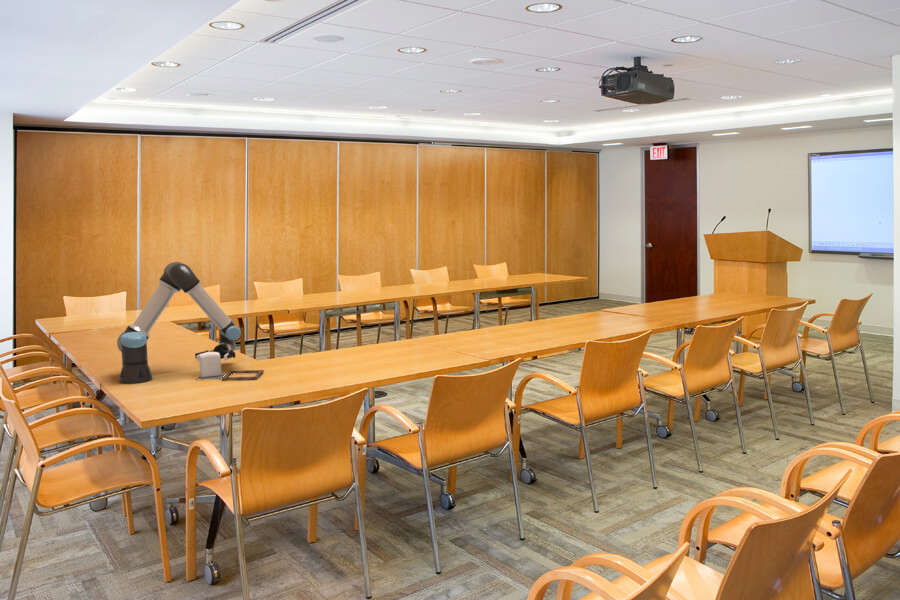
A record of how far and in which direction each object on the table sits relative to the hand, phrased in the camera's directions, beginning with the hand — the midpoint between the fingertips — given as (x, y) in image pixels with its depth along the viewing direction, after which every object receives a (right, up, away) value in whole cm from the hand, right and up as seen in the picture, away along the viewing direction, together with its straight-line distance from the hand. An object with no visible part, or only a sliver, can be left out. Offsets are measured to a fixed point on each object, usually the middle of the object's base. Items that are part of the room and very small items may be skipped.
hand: (211, 358), depth 368 cm
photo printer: (-1, -9, +1) cm, 9 cm away
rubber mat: (0, -10, +1) cm, 10 cm away
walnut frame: (+16, -9, +2) cm, 18 cm away
